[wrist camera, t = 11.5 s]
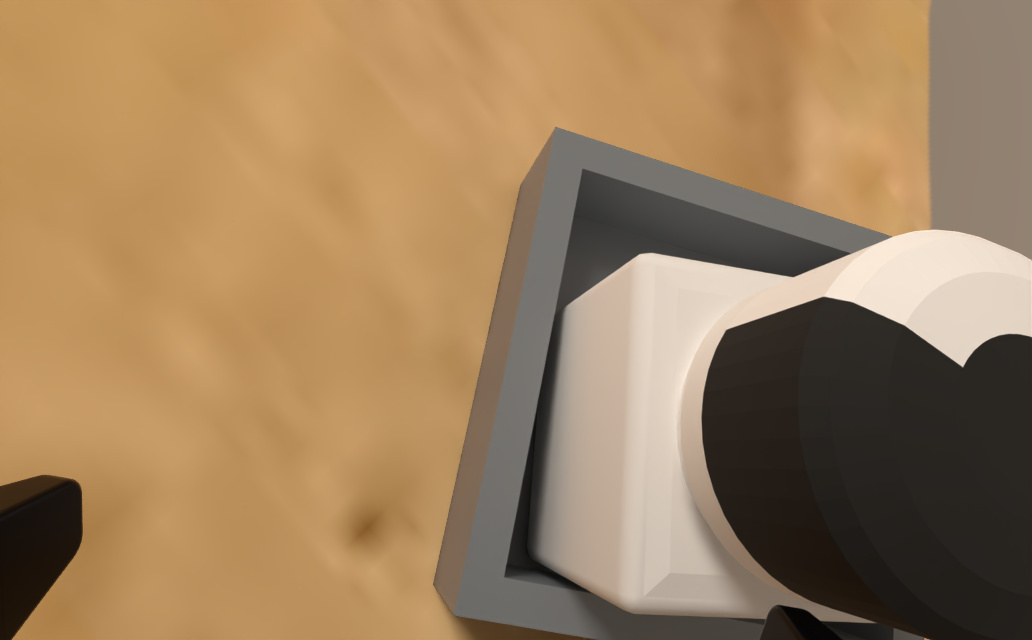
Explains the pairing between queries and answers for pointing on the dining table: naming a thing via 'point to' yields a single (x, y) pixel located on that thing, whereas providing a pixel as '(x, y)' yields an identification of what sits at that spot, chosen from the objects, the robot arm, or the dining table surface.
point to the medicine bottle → (797, 439)
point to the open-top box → (523, 349)
